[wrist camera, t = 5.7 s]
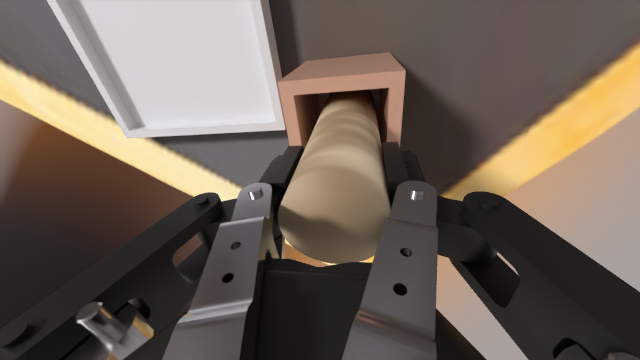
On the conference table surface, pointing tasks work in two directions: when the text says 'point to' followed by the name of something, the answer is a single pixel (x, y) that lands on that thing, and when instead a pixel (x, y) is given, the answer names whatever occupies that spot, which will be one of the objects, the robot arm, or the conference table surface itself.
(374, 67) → the pink open-ended box
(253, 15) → the tray
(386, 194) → the dowel pin
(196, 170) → the conference table surface
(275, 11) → the conference table surface
